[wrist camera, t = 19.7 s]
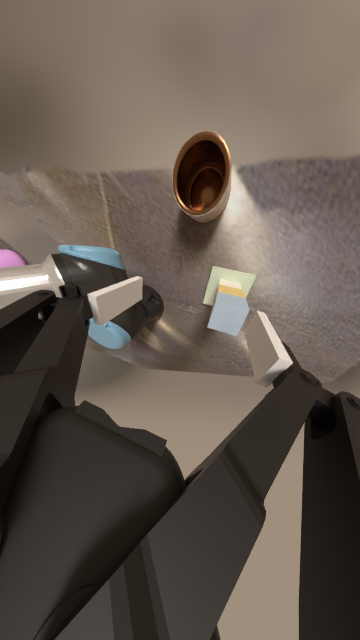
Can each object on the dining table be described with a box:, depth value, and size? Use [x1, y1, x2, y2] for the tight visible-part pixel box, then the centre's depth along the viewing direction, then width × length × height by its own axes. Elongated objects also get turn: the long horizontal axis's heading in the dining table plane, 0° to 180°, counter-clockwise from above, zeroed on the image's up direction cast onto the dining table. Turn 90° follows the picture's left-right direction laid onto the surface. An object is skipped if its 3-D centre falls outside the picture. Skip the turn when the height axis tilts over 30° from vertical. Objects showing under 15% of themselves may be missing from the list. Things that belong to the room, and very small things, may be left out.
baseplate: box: [203, 266, 256, 306], centre depth 37 cm, size 12×12×7 cm
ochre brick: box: [211, 284, 246, 311], centre depth 32 cm, size 6×6×6 cm
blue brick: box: [207, 292, 249, 336], centre depth 27 cm, size 6×6×6 cm
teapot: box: [0, 249, 28, 268], centre depth 61 cm, size 14×20×11 cm
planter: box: [172, 130, 232, 223], centre depth 27 cm, size 11×11×10 cm
